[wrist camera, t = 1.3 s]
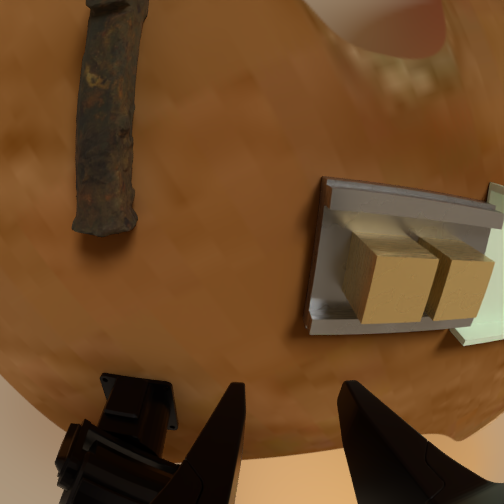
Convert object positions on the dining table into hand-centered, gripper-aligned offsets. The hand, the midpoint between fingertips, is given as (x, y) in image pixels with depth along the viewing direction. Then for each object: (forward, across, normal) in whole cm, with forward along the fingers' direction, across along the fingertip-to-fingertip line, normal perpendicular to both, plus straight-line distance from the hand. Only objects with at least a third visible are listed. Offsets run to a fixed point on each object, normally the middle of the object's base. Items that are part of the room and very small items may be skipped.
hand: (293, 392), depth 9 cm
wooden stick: (+12, +10, -11) cm, 19 cm away
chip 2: (+11, -12, 0) cm, 16 cm away
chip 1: (+11, -7, 0) cm, 13 cm away
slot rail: (+12, -10, 0) cm, 16 cm away
